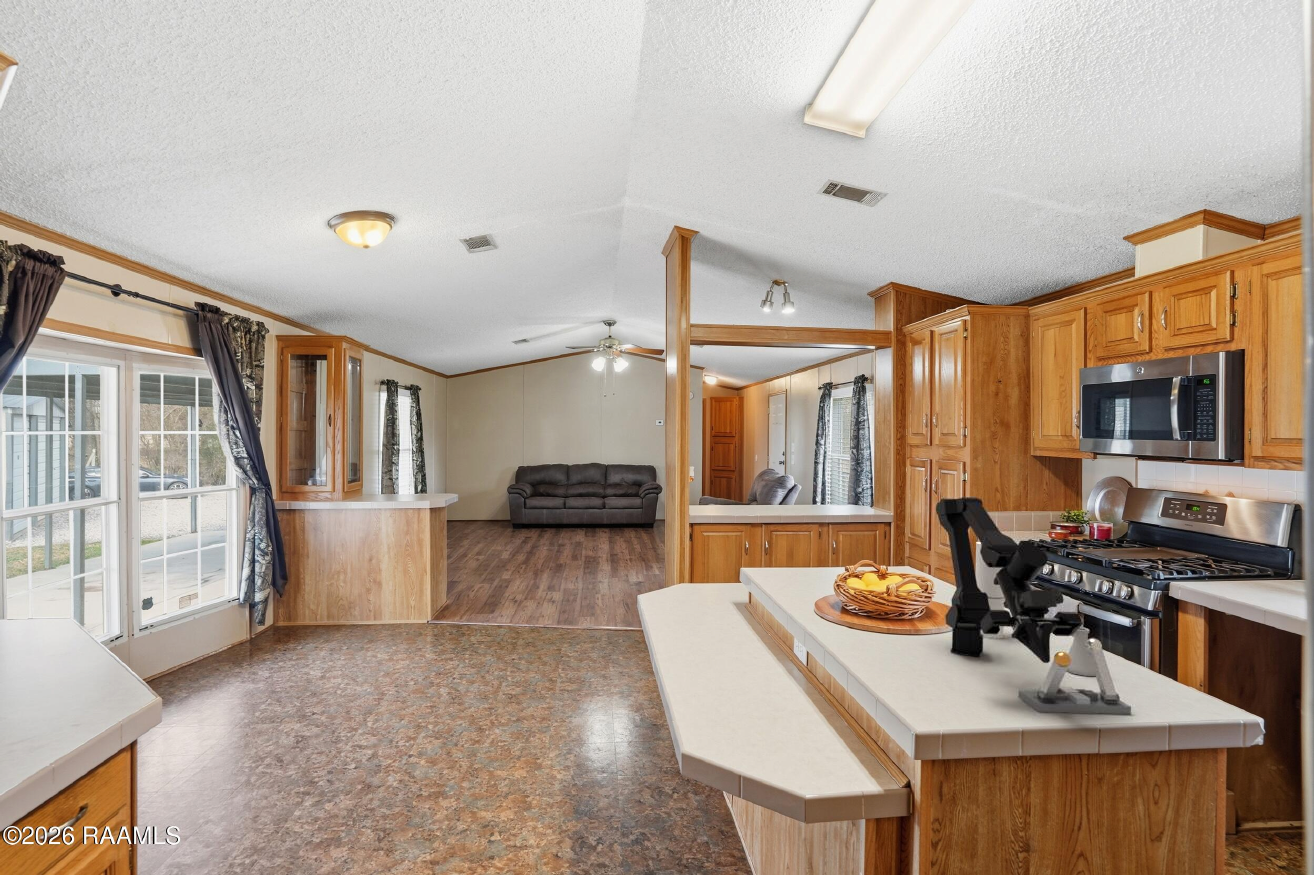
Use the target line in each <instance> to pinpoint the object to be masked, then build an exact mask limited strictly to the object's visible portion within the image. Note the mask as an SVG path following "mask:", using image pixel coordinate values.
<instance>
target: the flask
mask: <svg viewBox="0 0 1314 875" xmlns="http://www.w3.org/2000/svg"><path fill="white" fill-rule="evenodd" d="M1089 634H1090V629H1088V628H1086V627H1082V626H1081V627H1080V628H1079V629H1078V630H1077V631H1076V632H1075V633H1074V635H1073V636H1074V637H1073V641H1072V644H1071V646H1070V648H1069V650H1068V653H1067V654H1068V655H1069V656H1070V658H1071V664H1070V665H1069V666H1068V668H1067V670H1066V672H1068V673H1071V674H1075V675H1081V676H1085V677H1096V675H1095V672H1094V668H1093V665H1092V662H1091V658H1090V655H1089V652H1088V649H1087V648H1086V641H1087V640H1088V639H1089Z"/></svg>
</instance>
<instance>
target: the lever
mask: <svg viewBox="0 0 1314 875" xmlns="http://www.w3.org/2000/svg"><path fill="white" fill-rule="evenodd" d="M1086 648H1087V649H1088V652H1089V655H1090V658H1091V662H1092V665H1093V668H1094V672H1095V675H1096V676H1095V678H1096V682H1097V684H1098V685H1097V686H1098V687H1099V690H1100V691H1099V692H1101V693H1100V698H1101V700H1102V701H1111V702H1119V700H1120V698H1121V697H1120V695H1119V694H1118V692H1117V691H1116V688H1115V684H1114V682H1113V680H1112V676H1111V672H1110V669H1109V667H1108V663H1107V660H1106V657H1105V654H1104V650H1103V645H1102V643H1101V641H1100V640H1099V639H1097V638H1095V637H1091V638H1088V640H1087V641H1086ZM1120 701H1121V700H1120Z"/></svg>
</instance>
